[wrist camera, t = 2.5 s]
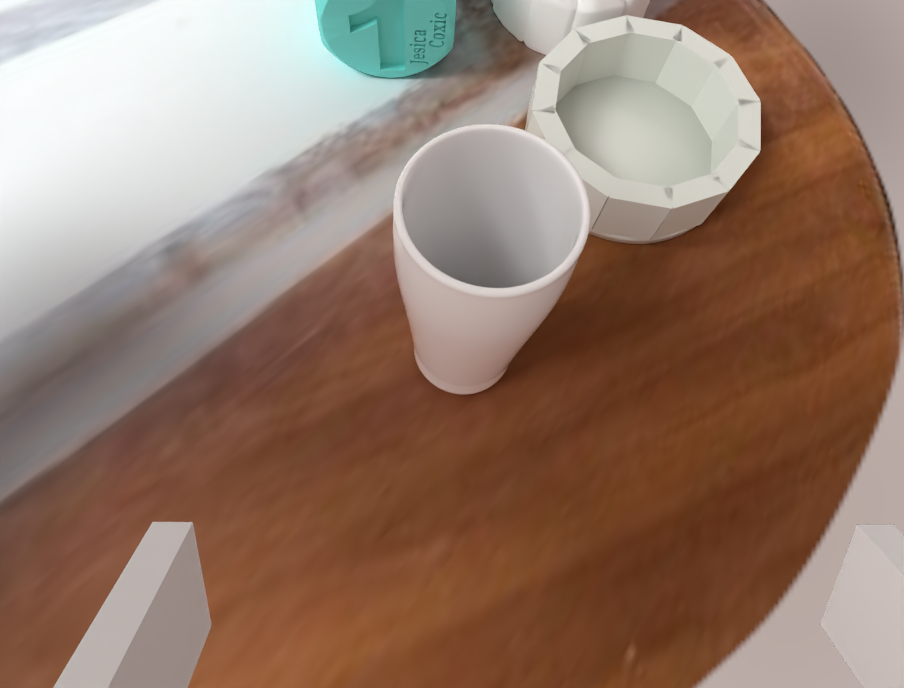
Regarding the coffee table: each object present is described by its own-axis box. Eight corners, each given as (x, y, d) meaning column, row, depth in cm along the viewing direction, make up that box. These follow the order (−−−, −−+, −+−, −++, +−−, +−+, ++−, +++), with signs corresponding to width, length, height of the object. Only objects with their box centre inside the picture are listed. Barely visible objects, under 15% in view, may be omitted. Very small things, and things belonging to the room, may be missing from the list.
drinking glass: (505, 426, 34) (570, 323, 20) (384, 390, 34) (362, 263, 20) (535, 313, 36) (612, 149, 22) (421, 281, 36) (425, 98, 22)
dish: (509, 223, 38) (520, 182, 34) (535, 55, 42) (548, 1, 38) (723, 261, 38) (760, 224, 34) (727, 89, 42) (760, 38, 38)
